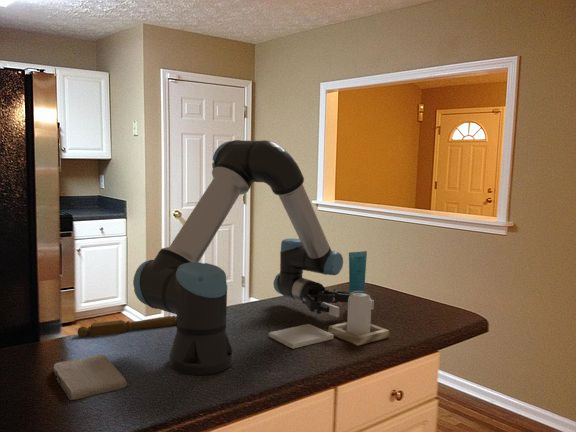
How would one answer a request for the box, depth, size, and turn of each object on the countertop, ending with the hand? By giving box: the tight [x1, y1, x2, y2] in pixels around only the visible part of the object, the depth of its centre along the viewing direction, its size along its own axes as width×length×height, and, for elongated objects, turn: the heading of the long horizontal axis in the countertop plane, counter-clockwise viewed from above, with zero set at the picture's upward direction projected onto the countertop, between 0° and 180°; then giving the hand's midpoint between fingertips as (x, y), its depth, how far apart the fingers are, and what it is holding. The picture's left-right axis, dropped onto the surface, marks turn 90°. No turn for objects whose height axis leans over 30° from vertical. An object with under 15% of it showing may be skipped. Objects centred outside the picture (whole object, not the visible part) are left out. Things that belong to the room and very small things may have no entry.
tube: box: [348, 250, 368, 292], centre depth 172 cm, size 7×5×19 cm, turn 127°
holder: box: [327, 321, 390, 347], centre depth 147 cm, size 12×12×2 cm
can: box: [346, 291, 372, 336], centre depth 146 cm, size 6×6×12 cm
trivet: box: [268, 323, 335, 349], centre depth 144 cm, size 14×11×1 cm
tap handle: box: [77, 315, 177, 338], centre depth 147 cm, size 3×3×30 cm
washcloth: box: [53, 353, 128, 401], centre depth 114 cm, size 12×18×3 cm, turn 37°
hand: (356, 308), depth 148 cm, fingers open, 13 cm apart
